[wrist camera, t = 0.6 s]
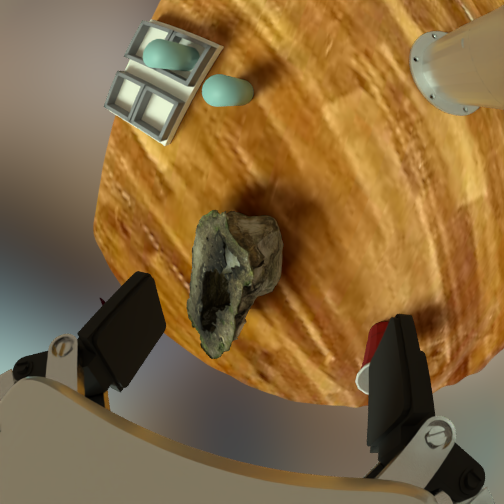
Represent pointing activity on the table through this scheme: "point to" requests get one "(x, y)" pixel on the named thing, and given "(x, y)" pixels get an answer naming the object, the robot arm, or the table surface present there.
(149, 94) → the pin board
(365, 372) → the plastic cup
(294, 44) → the table surface
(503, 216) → the table surface
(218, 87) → the teal peg
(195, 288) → the hollow geode rock
